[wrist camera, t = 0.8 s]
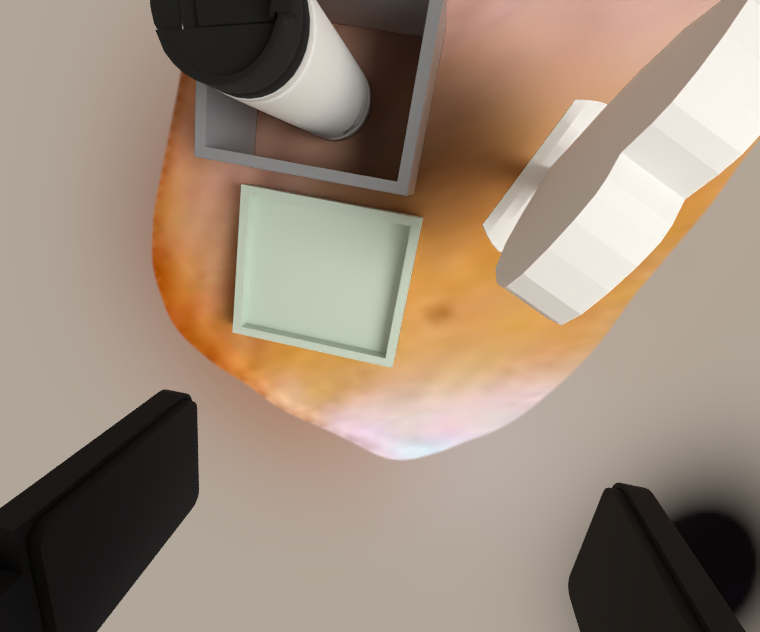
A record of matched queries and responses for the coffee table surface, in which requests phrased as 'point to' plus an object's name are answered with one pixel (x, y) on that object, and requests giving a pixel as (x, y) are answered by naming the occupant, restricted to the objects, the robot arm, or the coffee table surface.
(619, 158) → the heart sculpture
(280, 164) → the deep bin
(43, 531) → the robot arm
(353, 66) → the travel mug
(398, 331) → the tray
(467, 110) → the coffee table surface
